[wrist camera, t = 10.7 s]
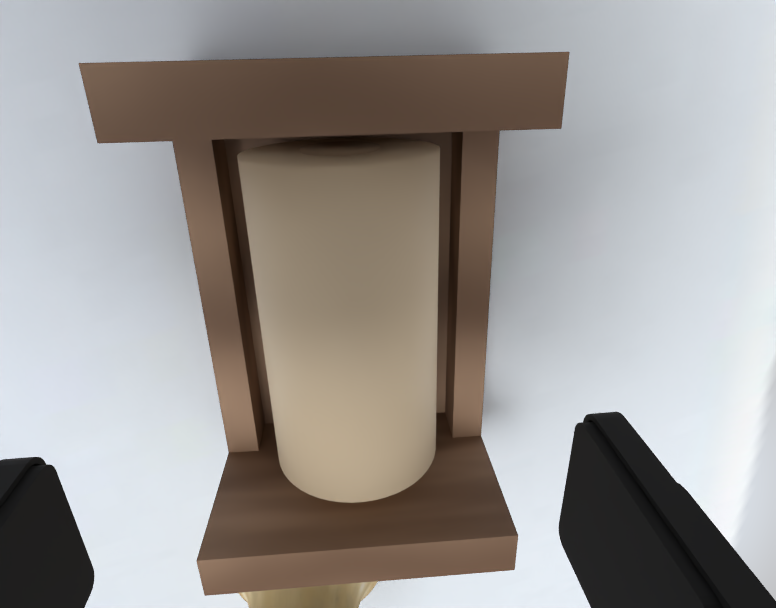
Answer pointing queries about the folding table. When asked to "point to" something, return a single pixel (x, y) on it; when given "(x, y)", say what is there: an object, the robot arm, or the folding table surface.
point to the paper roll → (347, 307)
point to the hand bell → (311, 596)
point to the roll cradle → (240, 309)
